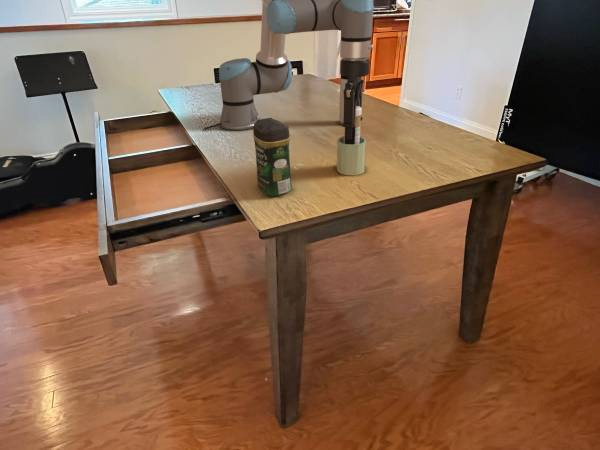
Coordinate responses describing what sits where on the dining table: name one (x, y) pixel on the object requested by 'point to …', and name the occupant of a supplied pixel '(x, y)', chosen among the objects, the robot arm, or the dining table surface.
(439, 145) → the dining table surface
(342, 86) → the travel mug
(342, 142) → the cup
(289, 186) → the coffee jar
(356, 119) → the sprinkles bottle
